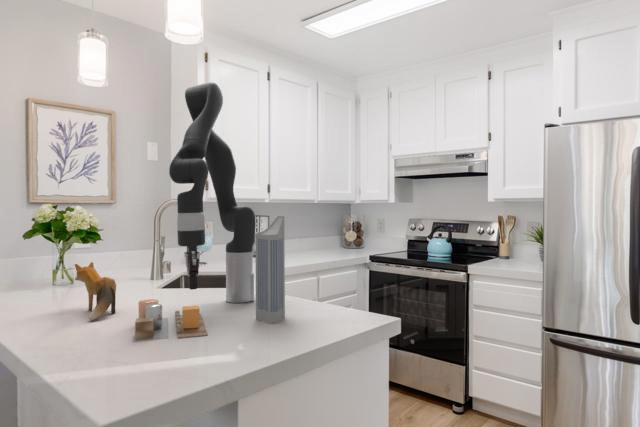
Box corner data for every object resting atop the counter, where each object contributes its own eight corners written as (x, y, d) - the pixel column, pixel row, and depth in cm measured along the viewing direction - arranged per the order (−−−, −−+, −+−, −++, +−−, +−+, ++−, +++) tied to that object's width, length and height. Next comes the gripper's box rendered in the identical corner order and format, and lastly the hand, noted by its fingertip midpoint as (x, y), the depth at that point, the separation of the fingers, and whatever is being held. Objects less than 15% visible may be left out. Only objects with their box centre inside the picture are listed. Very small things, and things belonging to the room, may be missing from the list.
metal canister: (162, 325, 115) (162, 303, 115) (162, 329, 112) (162, 306, 112) (146, 327, 114) (145, 304, 114) (145, 331, 110) (145, 307, 110)
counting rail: (174, 320, 125) (174, 309, 125) (200, 318, 128) (200, 307, 128) (177, 343, 104) (177, 329, 104) (207, 340, 106) (207, 327, 106)
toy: (99, 304, 147) (99, 260, 147) (130, 320, 126) (129, 268, 126) (63, 309, 140) (62, 263, 140) (89, 327, 119) (89, 272, 119)
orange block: (182, 324, 114) (182, 306, 114) (198, 323, 115) (198, 305, 115) (183, 328, 110) (183, 309, 110) (199, 327, 112) (199, 308, 112)
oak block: (153, 333, 109) (153, 317, 109) (153, 337, 105) (153, 320, 105) (136, 334, 107) (136, 318, 107) (135, 339, 103) (135, 322, 103)
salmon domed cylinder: (158, 320, 121) (158, 298, 121) (158, 324, 116) (158, 302, 116) (139, 321, 119) (139, 300, 119) (138, 326, 115) (138, 303, 115)
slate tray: (168, 322, 124) (167, 317, 124) (168, 343, 104) (168, 338, 104) (137, 324, 121) (137, 320, 121) (132, 346, 101) (132, 341, 101)
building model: (289, 317, 128) (289, 216, 128) (275, 324, 121) (274, 216, 121) (265, 315, 132) (265, 216, 132) (250, 321, 124) (249, 216, 124)
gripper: (207, 229, 120) (209, 291, 120) (201, 226, 132) (203, 283, 132) (179, 230, 117) (181, 294, 117) (175, 228, 129) (177, 286, 130)
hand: (193, 288), depth 125 cm, fingers closed
